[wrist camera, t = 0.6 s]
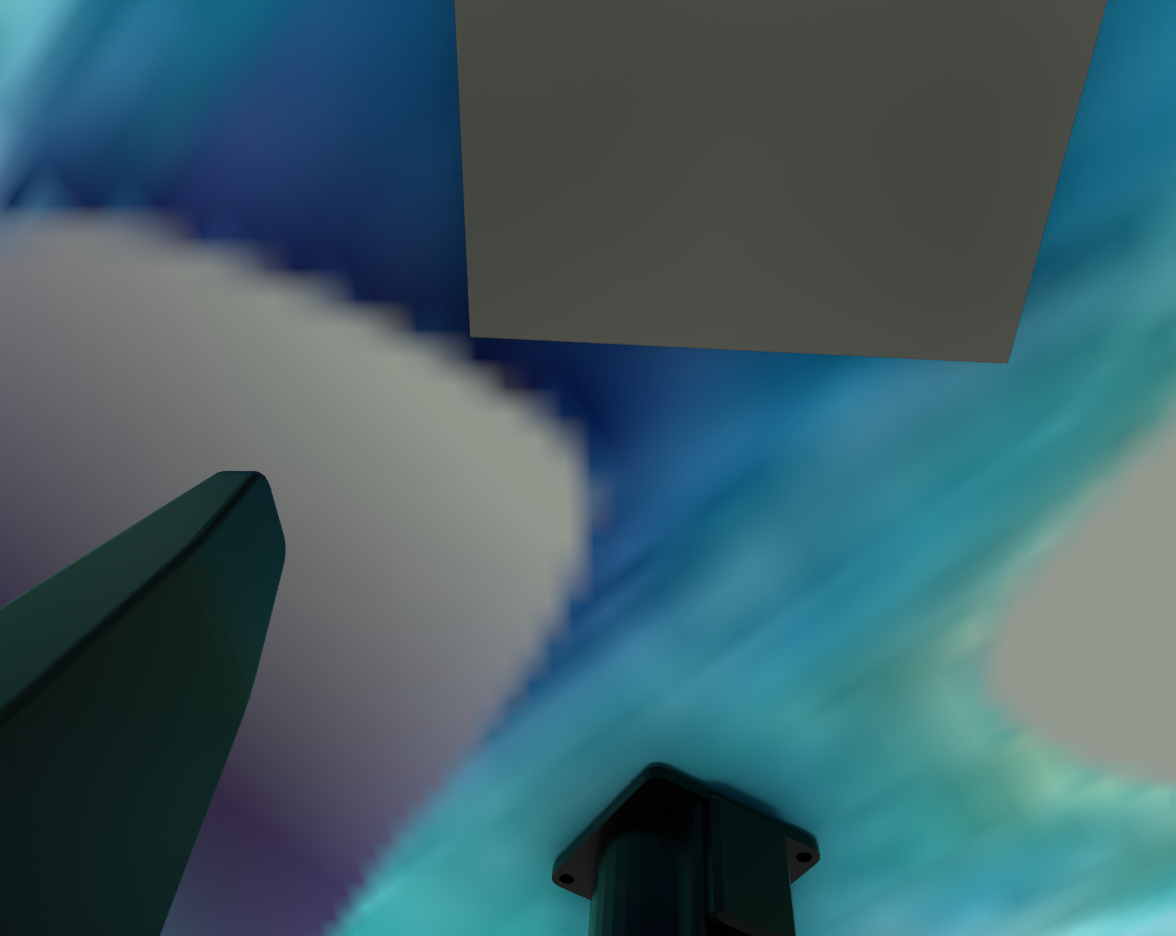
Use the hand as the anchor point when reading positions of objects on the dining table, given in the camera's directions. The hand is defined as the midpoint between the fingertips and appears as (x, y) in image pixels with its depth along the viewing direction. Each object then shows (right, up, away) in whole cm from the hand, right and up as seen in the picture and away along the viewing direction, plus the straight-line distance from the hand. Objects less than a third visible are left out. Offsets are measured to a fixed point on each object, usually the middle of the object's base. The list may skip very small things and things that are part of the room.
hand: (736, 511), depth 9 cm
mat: (+2, +8, +10) cm, 14 cm away
